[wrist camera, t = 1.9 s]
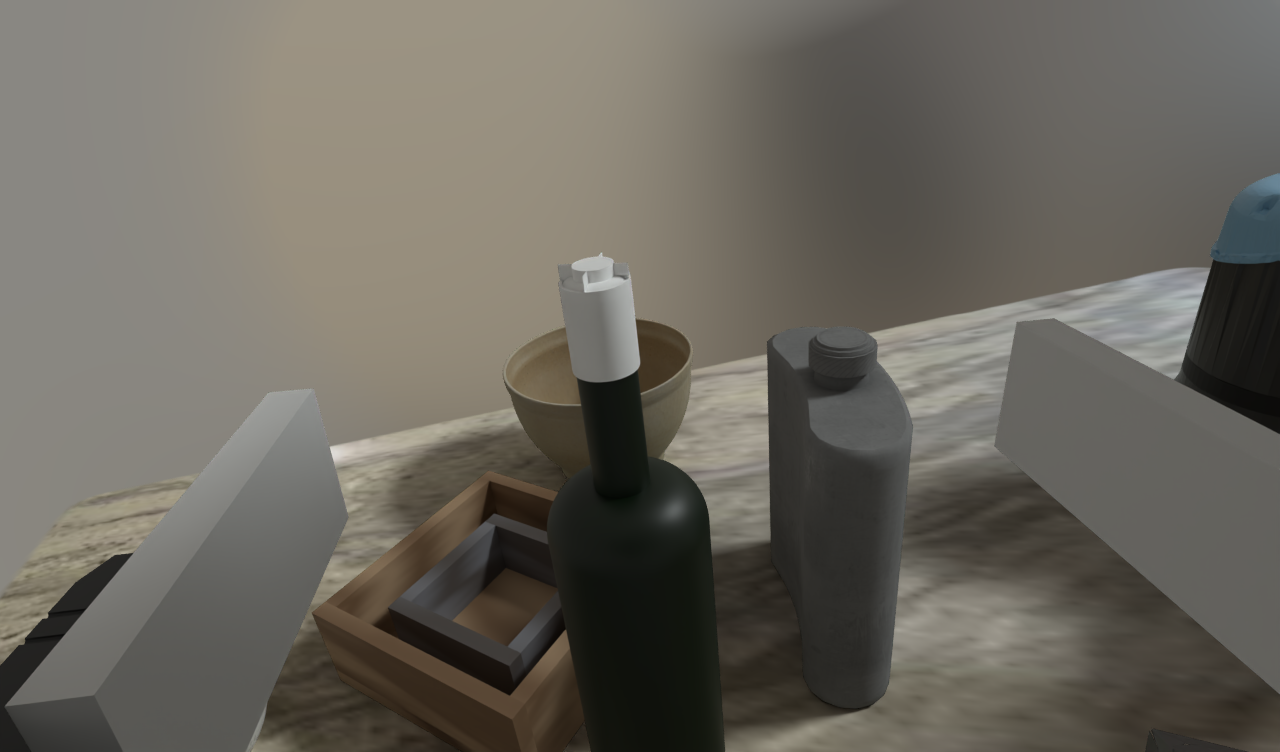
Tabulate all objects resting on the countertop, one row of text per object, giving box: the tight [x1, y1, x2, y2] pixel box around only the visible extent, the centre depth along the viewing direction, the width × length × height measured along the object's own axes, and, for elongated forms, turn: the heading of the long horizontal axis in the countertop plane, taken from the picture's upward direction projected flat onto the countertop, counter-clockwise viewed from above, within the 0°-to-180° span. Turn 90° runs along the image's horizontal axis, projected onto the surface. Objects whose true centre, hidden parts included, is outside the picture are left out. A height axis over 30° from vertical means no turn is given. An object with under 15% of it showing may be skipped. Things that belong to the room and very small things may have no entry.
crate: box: [312, 471, 585, 752], centre depth 46 cm, size 16×16×6 cm
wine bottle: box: [547, 252, 725, 752], centre depth 28 cm, size 6×6×30 cm
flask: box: [767, 327, 913, 708], centre depth 42 cm, size 15×6×20 cm, turn 1°
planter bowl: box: [503, 318, 693, 479], centre depth 62 cm, size 16×16×11 cm
